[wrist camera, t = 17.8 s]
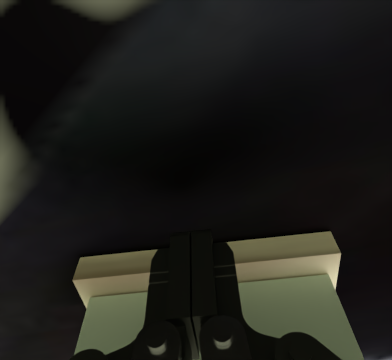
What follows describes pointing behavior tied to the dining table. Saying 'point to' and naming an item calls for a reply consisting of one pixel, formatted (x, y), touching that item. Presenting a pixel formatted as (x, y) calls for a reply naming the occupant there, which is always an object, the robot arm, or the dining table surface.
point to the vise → (243, 255)
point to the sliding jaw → (251, 309)
